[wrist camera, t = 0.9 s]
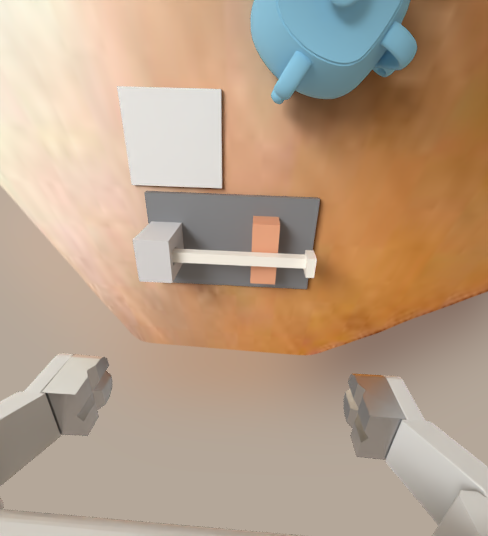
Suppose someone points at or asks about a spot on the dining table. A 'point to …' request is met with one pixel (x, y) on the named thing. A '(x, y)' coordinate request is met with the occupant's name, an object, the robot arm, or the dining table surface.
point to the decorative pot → (329, 43)
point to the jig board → (220, 235)
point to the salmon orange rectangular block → (264, 247)
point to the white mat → (173, 135)
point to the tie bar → (248, 259)
